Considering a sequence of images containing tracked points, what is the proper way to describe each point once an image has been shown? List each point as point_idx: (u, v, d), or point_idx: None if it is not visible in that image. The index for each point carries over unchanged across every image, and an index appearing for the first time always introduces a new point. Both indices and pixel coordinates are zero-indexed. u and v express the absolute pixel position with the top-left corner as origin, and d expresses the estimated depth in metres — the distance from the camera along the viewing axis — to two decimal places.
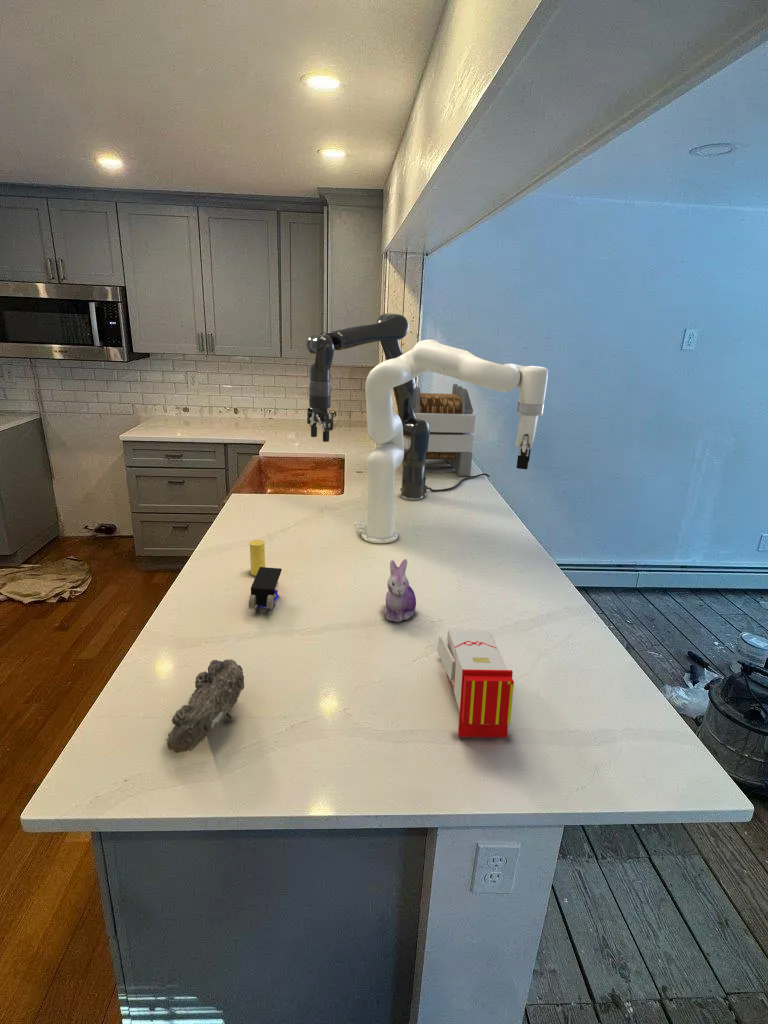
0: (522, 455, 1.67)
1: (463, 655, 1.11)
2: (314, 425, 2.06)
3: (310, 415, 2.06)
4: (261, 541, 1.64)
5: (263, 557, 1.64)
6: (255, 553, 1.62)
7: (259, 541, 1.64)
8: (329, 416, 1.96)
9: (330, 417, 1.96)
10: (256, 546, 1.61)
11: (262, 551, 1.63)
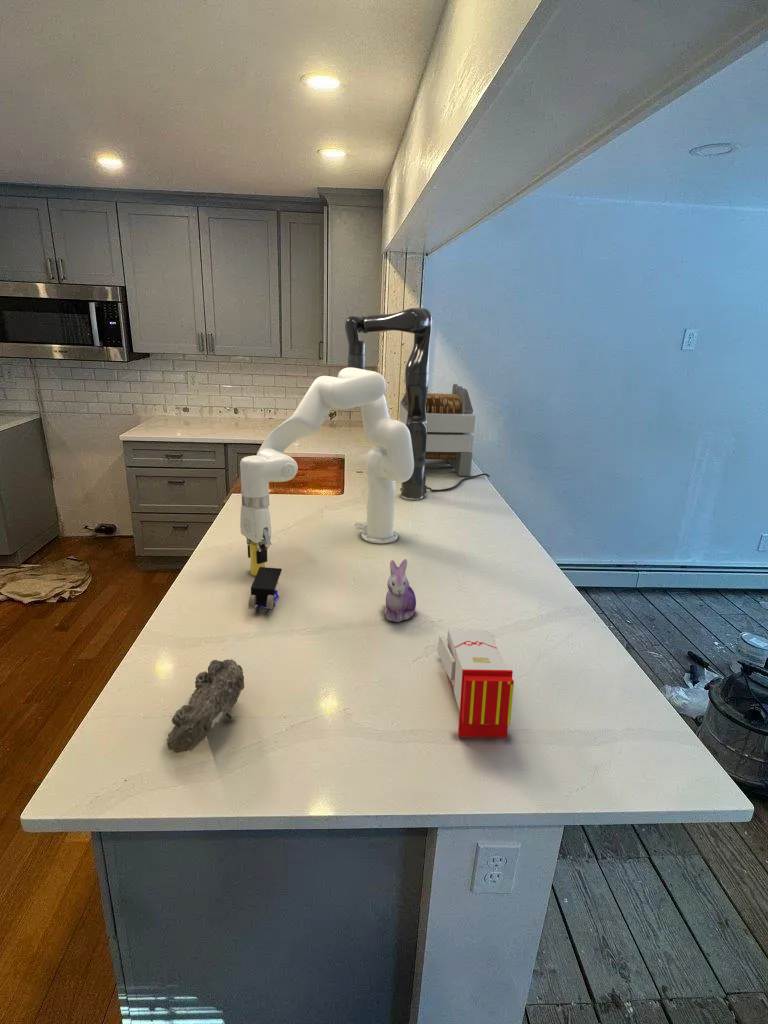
0: (263, 550, 1.61)
1: (463, 655, 1.11)
2: None
3: None
4: None
5: None
6: (255, 553, 1.62)
7: None
8: None
9: None
10: (256, 546, 1.61)
11: None
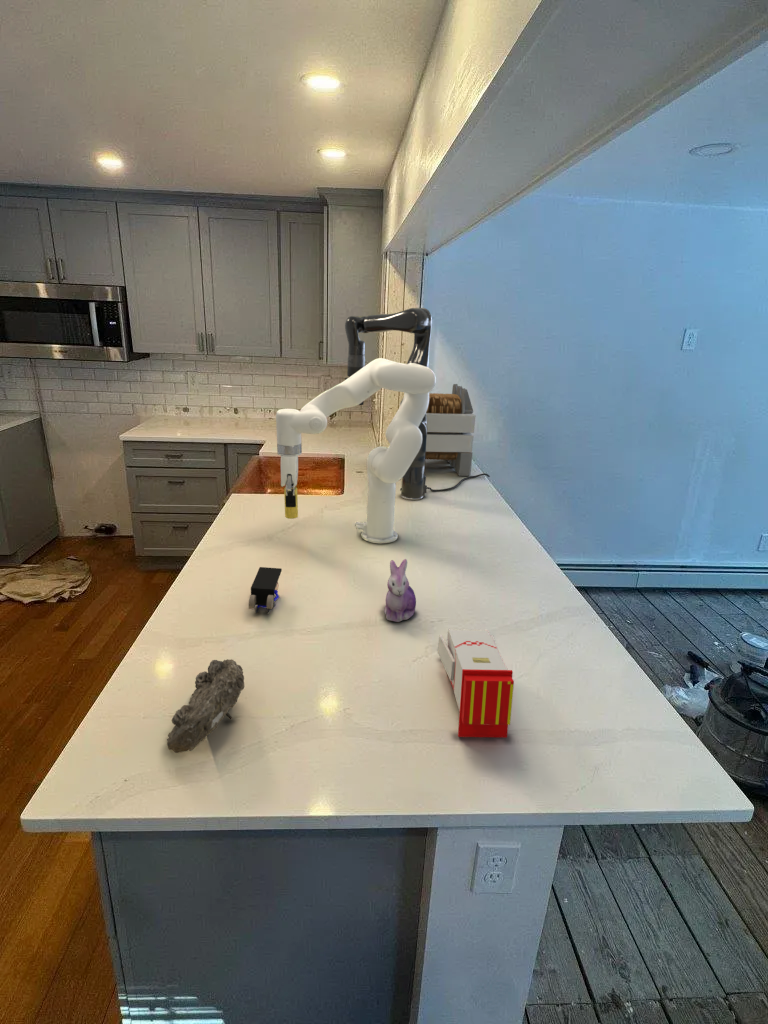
0: (289, 495, 1.78)
1: (463, 655, 1.11)
2: None
3: None
4: None
5: None
6: None
7: None
8: None
9: None
10: None
11: None
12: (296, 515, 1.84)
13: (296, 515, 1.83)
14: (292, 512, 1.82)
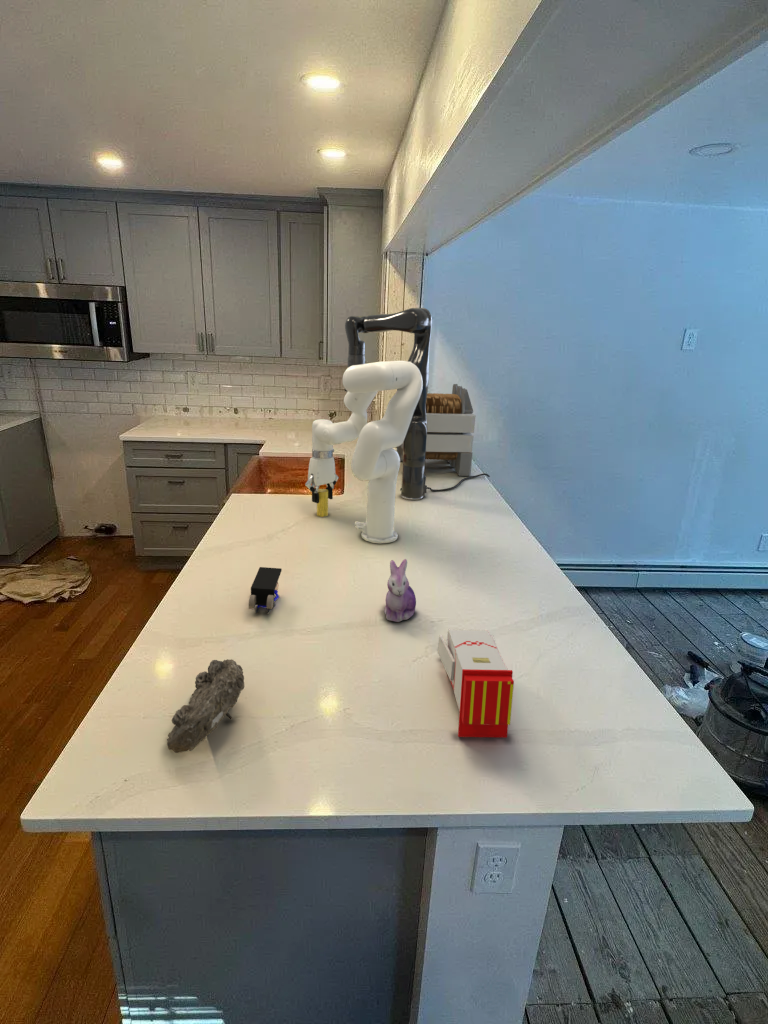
0: (312, 491, 2.08)
1: (463, 655, 1.11)
2: None
3: None
4: (324, 491, 2.11)
5: (320, 503, 2.11)
6: None
7: (324, 490, 2.11)
8: None
9: None
10: None
11: (319, 497, 2.11)
12: (323, 514, 2.13)
13: (322, 514, 2.13)
14: (319, 511, 2.12)
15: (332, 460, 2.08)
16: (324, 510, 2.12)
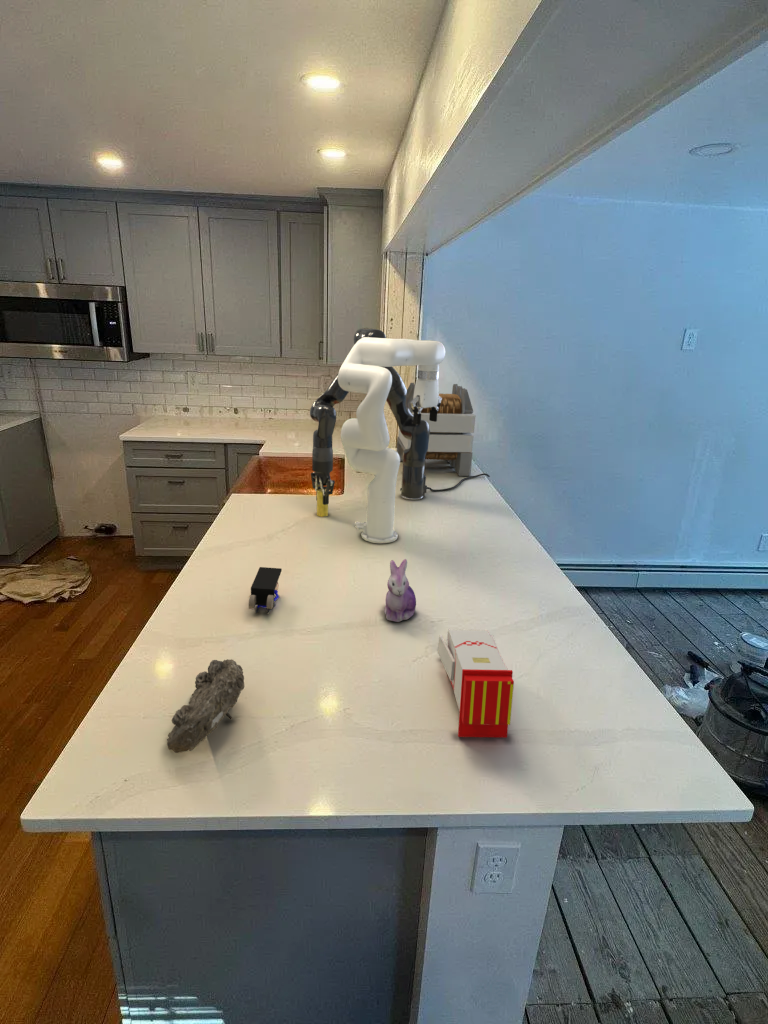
0: (414, 412, 2.06)
1: (463, 655, 1.11)
2: None
3: (314, 479, 2.14)
4: None
5: (320, 503, 2.11)
6: None
7: None
8: (331, 484, 2.05)
9: (332, 484, 2.06)
10: None
11: (319, 497, 2.11)
12: (323, 514, 2.13)
13: (322, 514, 2.13)
14: (319, 511, 2.12)
15: (437, 383, 2.08)
16: (324, 510, 2.12)
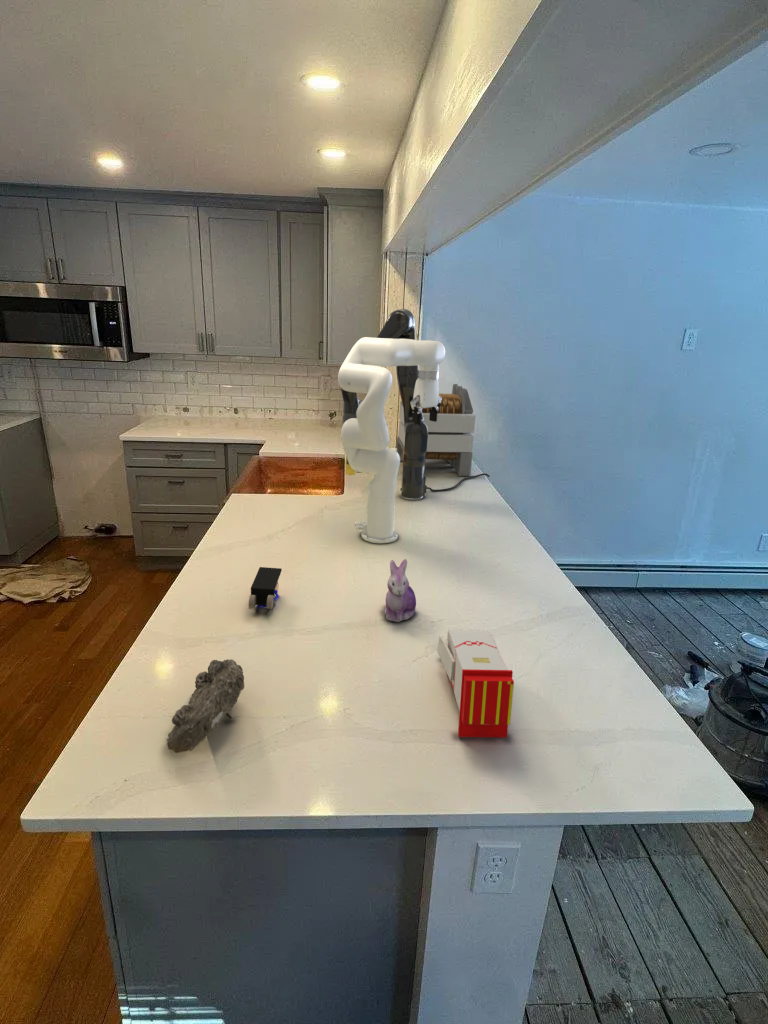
0: (414, 412, 2.06)
1: (463, 655, 1.11)
2: None
3: None
4: None
5: (346, 462, 2.41)
6: None
7: None
8: None
9: None
10: None
11: (346, 457, 2.41)
12: (347, 473, 2.42)
13: (347, 472, 2.42)
14: None
15: (437, 383, 2.08)
16: (348, 469, 2.41)
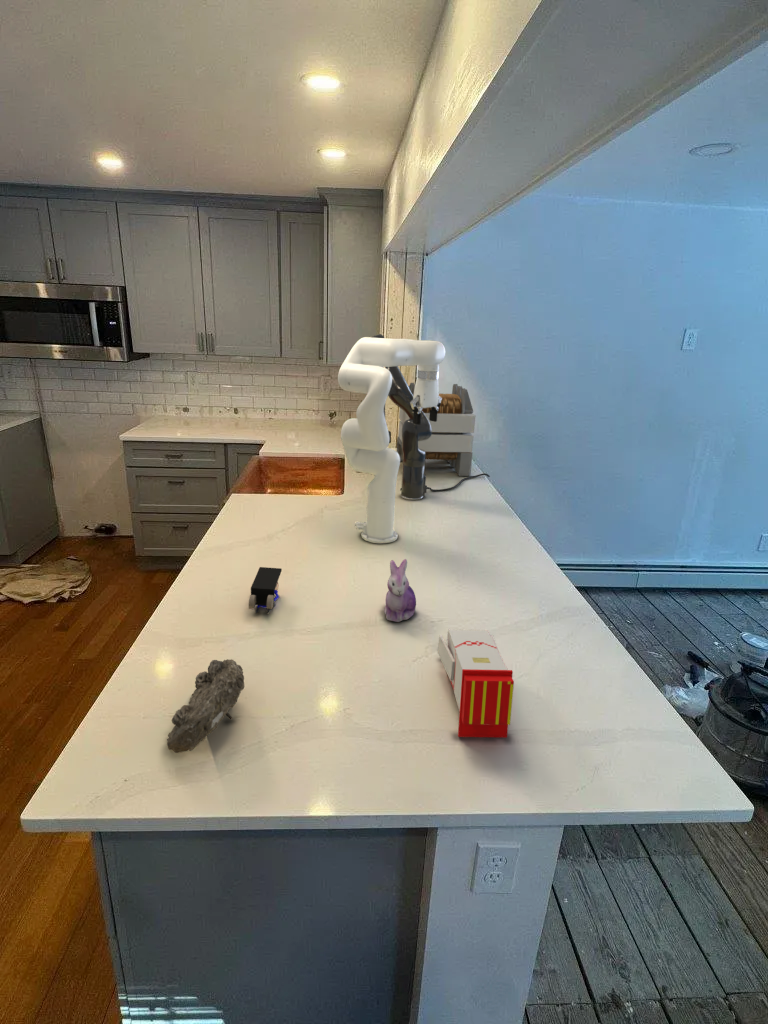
0: (414, 412, 2.06)
1: (463, 655, 1.11)
2: None
3: None
4: None
5: None
6: None
7: None
8: None
9: None
10: None
11: None
12: None
13: None
14: None
15: (437, 383, 2.08)
16: None
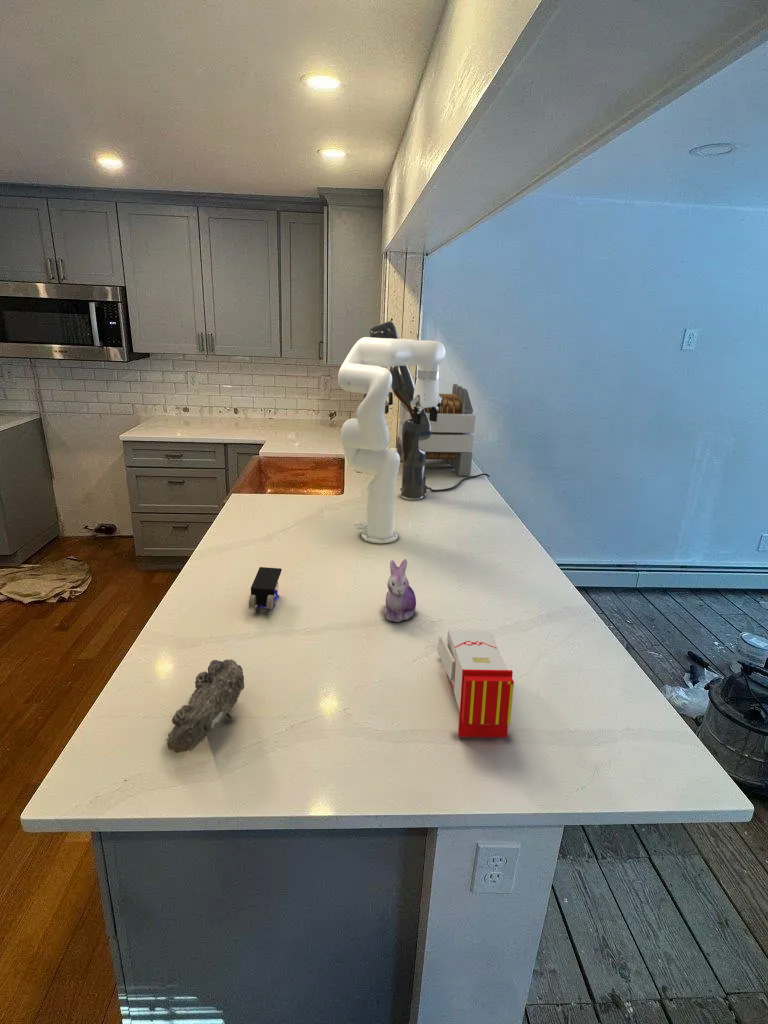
0: (414, 412, 2.06)
1: (463, 655, 1.11)
2: (386, 404, 2.76)
3: (389, 397, 2.76)
4: None
5: None
6: None
7: None
8: (364, 394, 2.71)
9: (364, 395, 2.71)
10: None
11: None
12: None
13: None
14: None
15: (437, 383, 2.08)
16: None
